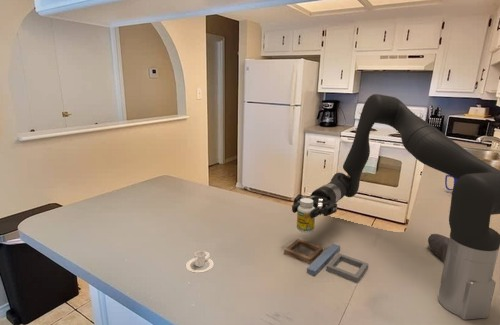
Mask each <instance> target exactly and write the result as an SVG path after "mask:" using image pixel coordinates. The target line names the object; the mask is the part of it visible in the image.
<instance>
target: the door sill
mask: <svg viewBox="0 0 500 325" xmlns="http://www.w3.org/2000/svg"><path fill="white" fill-rule="evenodd" d="M340 250H341V245H340V244H339V245H338V244H336V243H331V244H330V246H329V247H327V249H325V250H323V252H322V253H321V254H320V255H319V256H318V257H317V258H316V259H315V260H314V261H313V262H312V263H310V264H309V266H308V267H307V268H306V274H309V275H311V276H314V277H315V276H317V275H318V273H320V272H321V270H322V269H323V268H324V267H326V266H327V265H328V264H329V263H330V262H331V261H332V260H333V259H334V258H335V256H336V255H337V254H338V253H340Z"/></svg>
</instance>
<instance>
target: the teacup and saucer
mask: <svg viewBox="0 0 500 325" xmlns="http://www.w3.org/2000/svg"><path fill="white" fill-rule="evenodd" d="M193 255H194V256H193V258H191V259H190V260H188V261H187V262H186V264H185V267H186V269H187V271H189V272H192V273H196V274H198V273H205V272H208V271H210V270H211V269H212V268H213V267H214V261H213V260H212V259H211V258H210V256H211V254H210V253H209V252H208V251H203V250H197V251H195V252H194V254H193ZM206 261H207V262H208V263H209V265H208V267H206V268H205V269H201V270H200V269H198V270H196V269H194V268H192V267H191V264H192V263H193V262H194V265H195V266H196V267H198V268H202V267H204V265H205V263H206Z"/></svg>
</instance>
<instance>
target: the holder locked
mask: <svg viewBox="0 0 500 325" xmlns="http://www.w3.org/2000/svg"><path fill="white" fill-rule="evenodd" d="M299 246H300V247H303V248H306V249H309V250H311V251H313V252H312V253H311V254H309V256H308V255H305V254H303V253H300V252H298V251H295V250H296V249H297V248H298V247H299ZM323 252H324V247H323V246H321V245H317V244H315V243H312V242H308V241H306V240H303V239H300V238H297V239H296V240H295V241H293V242H292V243H291V244H289V245H288V246H287V247H285V248H284V250H283V254H284V255H286V256H289V257H292V258H294V259H295V260H298V261H301V262H304V263H306V264H308V265H311V264H312V263H313V262H314V261H315V260H316V259H317V258H318V257H319V256H320V255H321V254H322V253H323Z"/></svg>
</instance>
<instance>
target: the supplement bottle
mask: <svg viewBox="0 0 500 325" xmlns="http://www.w3.org/2000/svg"><path fill="white" fill-rule="evenodd" d="M313 209H315V208H314V207H313V200H312V199H309V198H306V197H305V198H302V199H300V205H299V206H298V209H297V212H296V213H297V215H296V229H297V230H298V231H299V232H301V233H306V234H308V233H312V232H313V231H314V230H315V224H316V223H315V221H316V219H315V218H316V217H314V218H310V212H311V211H312V210H313Z"/></svg>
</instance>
